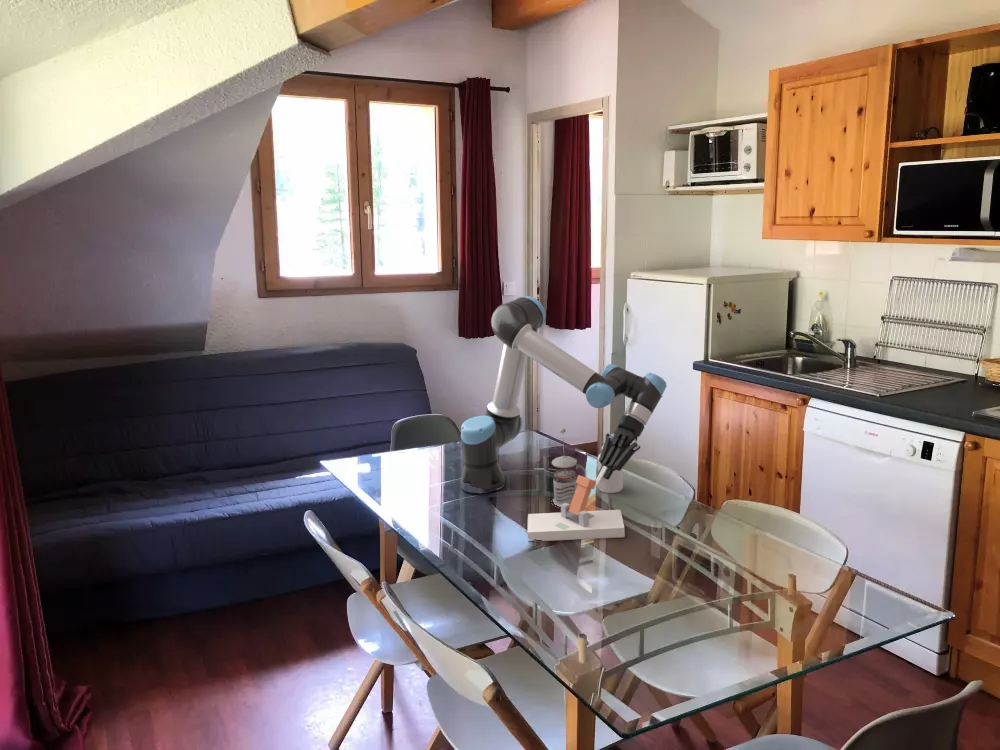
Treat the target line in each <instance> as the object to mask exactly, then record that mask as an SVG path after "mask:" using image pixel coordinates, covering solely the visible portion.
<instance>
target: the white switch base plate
mask: <svg viewBox="0 0 1000 750" xmlns="http://www.w3.org/2000/svg"><path fill="white" fill-rule="evenodd" d="M569 508H570V504H568V503H566V502H565V503H563V504H561V508H560V512H545V513H542V512H541V513H528V514H527V539H528V538H529V539H536V540H542V541H541V542H549V541H550V542H551V541H553V542H554V541H571V540H575V541H576V540H593V539H612V538H613V539H614V538H615V539H616V538H626V537H625V535H626V534H625V533H626V532H625V531H626V530H625V524H624V519H623V516H622V511H621V509H604V510H587V511H586V510H583V511H581V512H578V515H579V522H577V521H575V520H573V519H571V518H569V517H567V516H566V512H567V510H569Z"/></svg>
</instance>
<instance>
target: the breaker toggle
mask: <svg viewBox="0 0 1000 750" xmlns="http://www.w3.org/2000/svg"><path fill="white" fill-rule="evenodd" d="M586 477H587V476H586ZM586 477H585V476H583V475H578V474H577V480H576V483H578V485H577V488H576V491H575V490H574V491H575V494H574V496H573V499H572V502H571V505H570V508H569V510H567V512H566V516H567V517H569V518H571V519H573V520H575V521H577V522H579V515H578V512H581V511H583V510H584V511H586V510H585V509H586V506H587V503H588V501H589V498H590V495H591V492H592V490H595V488H596V486H595V485H596V481H595V480H594V479H592V478H588V477H587V478H586Z"/></svg>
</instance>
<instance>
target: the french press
mask: <svg viewBox="0 0 1000 750" xmlns="http://www.w3.org/2000/svg"><path fill="white" fill-rule="evenodd" d="M559 433H561V434H564V433H566V429H565V428H564V427H561V428H560V429H559ZM562 446H563V447H562V451H563V452H565V442H564V439H562ZM577 463H578V460H577V458H574V457H572V456H568V455H567V456H566V455H561V456H558V457H555V458H554V459H552V461H551V465H552V466H553V467H555V468H558V470H556V471H555V472H554V473H553V479H552V480H553V496H554V497H553V499H552V500H553V502H554V504H555V505H557V506H559V507H561V504H563V503H565V502H566V503H568V504H570V505H571V502H572V499H573V496H574V494H575V491H576V488H577V485H578V483H576V480H577V477H578V475H577V472H576V471H575V470H574V469H569V468H572V467H574V466H575V467H576V470H578V468H580V469H581V470H582V471H583V472H584V475H585V476H584V477H586V478H588V477H587V470H586V469H585V467H584V466H583V465H581V464H577ZM565 481H566V482H565ZM559 507H558V508H559Z"/></svg>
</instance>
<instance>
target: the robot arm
mask: <svg viewBox="0 0 1000 750" xmlns="http://www.w3.org/2000/svg"><path fill="white" fill-rule="evenodd" d="M546 315H547V314H546V310H545V307H544V306H543V304H542V303H541V302H540V301H539V299H537V298H535V297H533V296H529V295H526V296H524V295H523V296H519V297H517V298H516V299H513V300H511V301H508V302H506V303H502V304H500V305H499V306H498V307H496V309H495V310H494V311H493V313H492V316H491V318H490V319H491V321H490V323H491V329H492V331H493V333H494V335H495V337H496V338H497V339H498V340H499V341H501V342H502V343H503V347H502V352H501V357H500V361H499V366H498V372H497V377H496V383H495V387H494V393H493V398H492V400H491V401H490V402H488V404H487V406H486V411H485V415H476V416H474V417H473V416H472V417H470V418H467V419H466V420H464V421H463V423H462V424H461V427H460V439H461V444H462V445H461V448H462V459H463V469H462V473H461V478H460V482H461V481H462V482H464V483H469V484H470V486H472V487H476V488H482V489H495V488H500V487H502V486H503V485H504V484H505V485H506V479H505V478H506V477H505V476H504V473H503V471H502V469H501V465H500V464H499V459H498V457H499V456H498V449H501V447H503V446H504V445H506V444H508V443H509V442H511V441H512V440H514V439H515V438H516V437H517V436H518V435H519V434H520V432H521V431H522V427H523V418H522V417H521V409H520V408H519V406H518V403H519V397H520V393H521V390H522V389H521V387H522V383H523V379H524V374H525V370H526V363H527V360H528V357H529V358H531V359H532V360H533V361H535V362H536V363H538V364H539V365H541V366H542V367H544V368H545V369H547V370H548V371H550V372H551V373H553V374H554V375H556V376H557V377H559V378H560V379H561V380H563V381H565V382H566V383H568V384H569V385H571V386H572V387H574V388H575V389H577V390H578V391H580V392H581V393H583V395H585V399H586V401H587V403H588V405H590V406H591V407H593V408H595V409H603V408H605V407H607V406H610V404H612V403H613V402H614V401H615V400H617V399H619V397H621V396H624V397H626V398H629V399H631V401H629V404H628V406H627V408H626V409H625V411H624V412H623V413H624V415H622V416H621V418H620V420H619V422H618V424H617V429H616V430H614V432H613V433H609V432H608V433H605V441H604V443H603V445H604V446H603V445H602V446H603V449H602V450H601V452H600V454H601V455H600V458H599V462H600V463H601V464H602V467H601V468H600V470H599V472H598V471H597V477H596V479H595V480H594V481H596V485H595V488H597V489H598V490H600V489H601V490H602V488H603V486H604V484H605V482H606V481H607V480H608V479H609V478H610V476H611V475H612V473H613V471H615V470H618V471H620V470H621V469H622V470H623V467H625V465H626V464H627V463H628V461H629V460H630V459H631V458H632V457H633V455H634V454H635V453H636V452H637V451H638V450H640V449H641V446H640V444H638V442H637V441H638V438H639V437H640V436H641V435H642V433H643V432H644V430H645V426H646V425H647V424H648V422H649V420H650V419H651V416H652V415H653V413H654V411H655V409H656V407H657V406H658V404H659V402H660V400H661V398H663V395H664V393H665V390H666V388H667V382H666V381H665V379H664V378H663V377H661V376H659V375H658V374H656V373H652V372H647V373H645V375H644V376H639V375H637V374H635V373H633V372H632V371H629V370H627V369H625V368H623V367H621V366H619V365H615V364H613V363H610V364H607V365H606V366H605V367H604V369H603V370H602V372H601V374H600V373H598V372H597V371H595V370H593V369H592V368H591V367H589V366H587V365H586V364H585V363H583V362H582V361H580V360H578V359H577V358H575V357H574V356H572V355H571V354H569V353H568V352H566V351H565V350H563V349H562V348H561V347H559V346H557V345H556V344H554V343H553V342H551V341H550V340H548V339H547V338H545V337H544V336H543V335H541V334H539V333H538V330H539V329H540V328H541V327H542V326H543V324H545V320H546ZM618 465H619V466H618ZM505 485H504V486H505Z"/></svg>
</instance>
